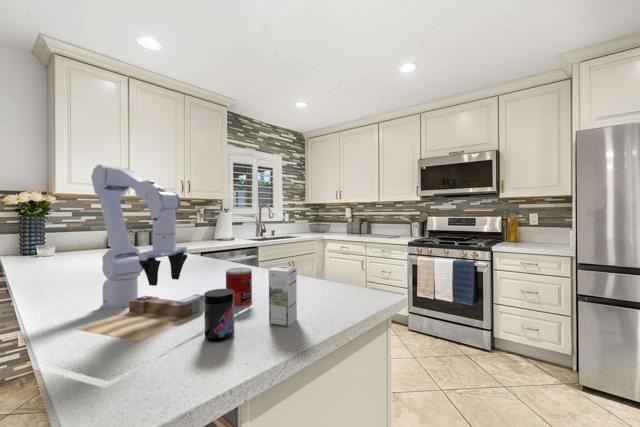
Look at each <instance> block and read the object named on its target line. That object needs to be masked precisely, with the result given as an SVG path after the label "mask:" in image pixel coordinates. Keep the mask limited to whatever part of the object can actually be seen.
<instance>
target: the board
mask: <svg viewBox="0 0 640 427" xmlns="http://www.w3.org/2000/svg"><path fill="white" fill-rule="evenodd" d="M203 313H204V311H203V312H200V313H197V312H192V314H191V315H189V316H187V317H185V318H177V317H170V316H164V315H157V314H150V313H143V314H141V313H134V312H129V310H128V311H125V312H122V313H120V314H117V315H113V316H110V317H107V318H105V319H102V320H98V321H96V322H92V323H90V324H86V325H84V326H80V327H78V328H76V330H79V331H84V332H89V333H94V334H97V335H98V334H99V335H103V336H110V337H114V338H119V339H123V340H124V339H125V340H130V341H134V342H142V341H144V340H146V339H147V338H150V337H152V336H154V335H157V334H159V333H161V332H164V331H165V330H167V329H170V328H172V327H174V326H177V325H178V324H181V323H183V322H185V321H188V320H190V319H192V318H194V317H197V316H198V315H201V314H203Z"/></svg>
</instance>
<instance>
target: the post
mask: <svg viewBox="0 0 640 427" xmlns="http://www.w3.org/2000/svg"><path fill="white" fill-rule="evenodd" d="M143 296H144V297H143ZM143 296H140V298H139V297H138V298H139V301H145V300H148V297H147V296H148V295H143Z"/></svg>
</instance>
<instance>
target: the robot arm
mask: <svg viewBox="0 0 640 427" xmlns="http://www.w3.org/2000/svg"><path fill="white" fill-rule="evenodd" d="M90 177H91V182H92V187H93V189H94V194H96V195H97V196H98V198H99V202H100V206H101V212H102V217H103V220H104V225H105V229H106V234H107V238H108V243H109V247H110V248H109V249H108V250H107V251H106V252H105V253H104V254H103V255H102V258H101V259H102V267H101V268H102V273H103V275H104V277H106V280H105V281H104V283H103V284H102V305H100V306H99V308H101V309H105V308H108V307H111V308H123V307H124V308H125V307H129V300H133V299H136V298H139V287H138V286H139V284H138V283H139V282H138V280H139V276H141V273H142V272H143V271H144V273H145V275H146V278H147V282H148V284H149V286H155V287H156V286H158V280H159V278H158V277H159V275H158V274H159V268H160V265H161V262H162V261H161V260H157V259H158V258H159V259H160V258H163V257H168V258H167V259H168V261H169V265H170V276H171V279H172V280H176V281H177V280H180V276H181V272H182V268H183V266H184V264H185V261H186V260H187V259H188V254H187V252H188V248H187V246H176V239H177V238H176V237H177V236H176V211H178V210H179V208H180V205H181V198H180V196H179V195H178V194H177V193H176V191H167V190H165V188H164V187H162V186H159V185H157V184H156V182H155V181H154V180H153V179H147V180H143V179H141V178H140V177H139V176H138V175H137V174H136V172H135V170H133V169H132V168H128V167H126V168H125V167H119V166H116V167H115V166H111V165H110V166H109V165H102V164H97V165H96V166H95V167H94V168H93V169H92V174H91V176H90ZM130 189H132V190H134V192H135V196H136V197H138V198H139V199H140V200H142V201H144V202H145V203H146V204H147V207H148V210H149V213H150V218H151V219H152V249H151V250H148V251H144V252H143V251H142V252H140V249H139V248H137V247H135V246H133V245H132V244H131V243H130V238H129V235H128V230H127V226H126V223H125V216H124V213H123V209H122V204H121V200H120V199H121V198H122V197H123V196H125V195H126V194H127V193H128V191H129V190H130Z"/></svg>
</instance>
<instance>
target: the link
mask: <svg viewBox="0 0 640 427" xmlns="http://www.w3.org/2000/svg"><path fill="white" fill-rule="evenodd" d="M144 296H145V295H143V296H142V297H144ZM146 296H147V297H148V300H145V301H139V298H140V297H141V296H140V297H139V296H138V298H136V299H133V300H129V306H128V311H129V312H134V313H141V314H143V313H150V314H157V315H164V316H170V317H177V318H185V317H187V316H189V315H191V314H192V303H190V304H187V305H178V304H177V301H178V300H172V299H165V298H159V297H158V296H149V295H146Z"/></svg>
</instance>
